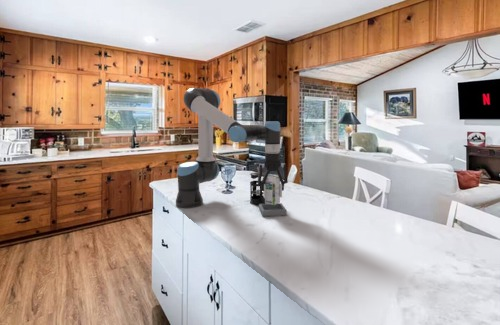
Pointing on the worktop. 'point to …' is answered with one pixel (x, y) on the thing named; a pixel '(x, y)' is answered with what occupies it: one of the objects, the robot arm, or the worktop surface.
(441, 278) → the worktop surface
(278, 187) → the syrup box
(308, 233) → the worktop surface
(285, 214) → the tray
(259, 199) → the french press
